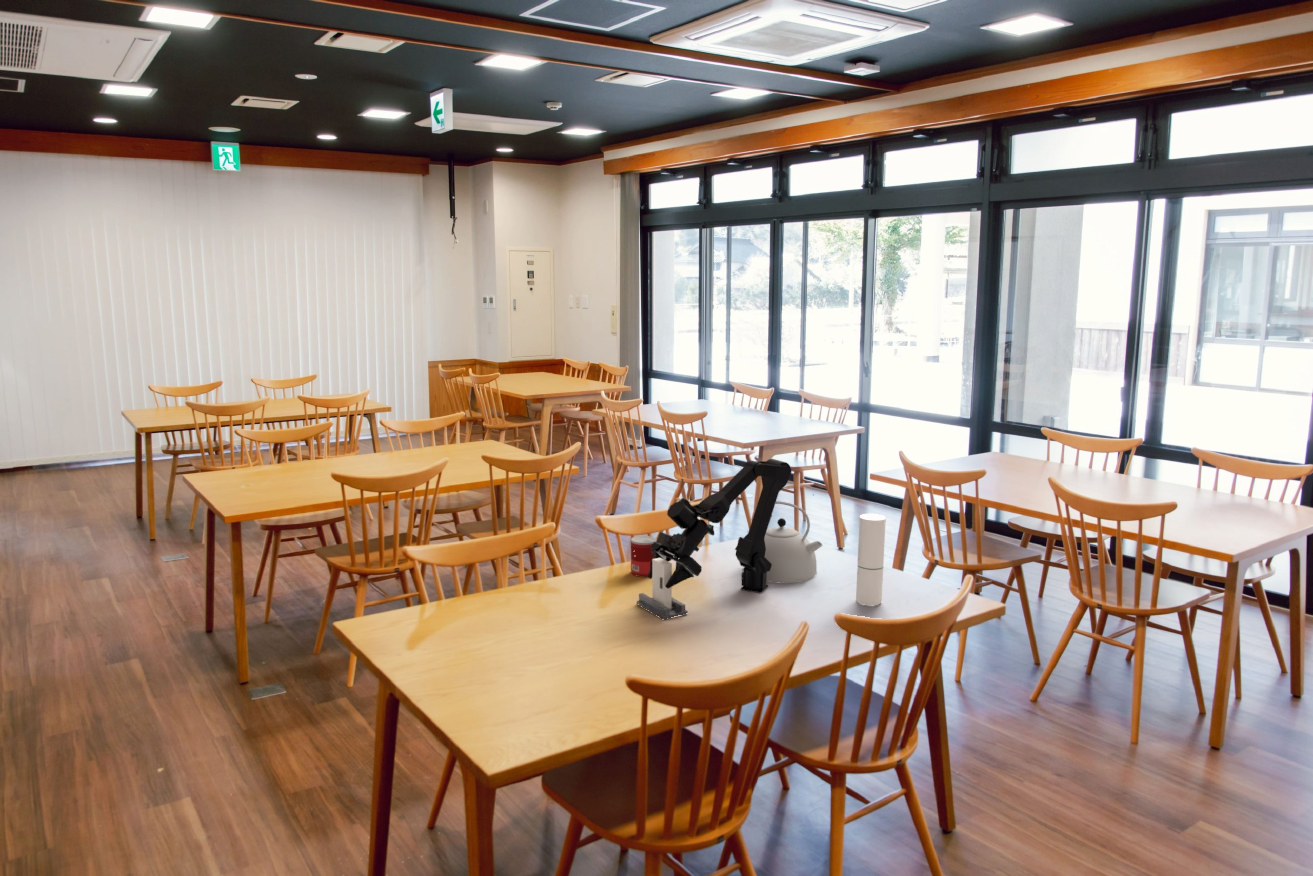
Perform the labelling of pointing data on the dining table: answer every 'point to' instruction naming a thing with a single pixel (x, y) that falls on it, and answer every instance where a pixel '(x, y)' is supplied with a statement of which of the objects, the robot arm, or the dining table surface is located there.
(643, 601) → the bottom track
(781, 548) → the kettle
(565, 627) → the dining table surface
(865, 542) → the cylindrical container
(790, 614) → the dining table surface
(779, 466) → the robot arm
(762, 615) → the dining table surface
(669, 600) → the door panel
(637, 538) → the canned food
